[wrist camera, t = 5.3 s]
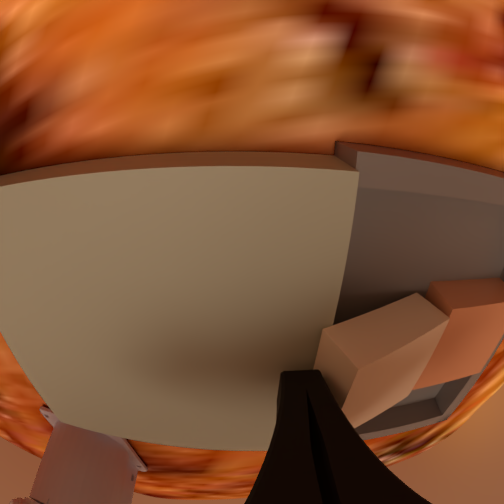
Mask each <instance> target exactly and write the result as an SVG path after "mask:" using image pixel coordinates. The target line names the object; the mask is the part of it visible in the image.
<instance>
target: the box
mask: <svg viewBox="0 0 504 504" xmlns="http://www.w3.org/2000/svg"><path fill="white" fill-rule="evenodd" d="M334 156H336V157H337V158H339V159H341V160H342V161H344V162H345V163H347V164H348V165H350V166H351V167H353V168H354V169H356V170H358V171H359V180H358V188H357V196H356V203H355V211H354V217H353V224H352V230H351V237H350V243H349V248H348V254H347V260H346V265H345V270H344V275H343V281H342V285H341V290H340V295H339V300H338V304H337V309H336V313H335V318H334V322H333V325H336V324H338V323H341V322H344V321H347V320H349V319H352V318H355V317H357V316H360V315H363V314H365V313H368V312H371V311H373V310H376V309H378V308H381V307H383V306H386V305H388V304H391V303H393V302H396V301H398V300H400V299H403V298H405V297H407V296H410V295H412V294H414V293H418V294H420V295H421V296H422V297H424V298H425V296H426V293H427V291H428V288H429V285H430V282H431V281H452V280H470V279H486V278H500V279H501V280H502V281H503V282H504V172H501V171H497V170H494V169H490V168H486V167H483V166H479V165H475V164H471V163H467V162H462V161H458V160H454V159H449V158H444V157H440V156H435V155H430V154H424V153H419V152H413V151H407V150H401V149H395V148H388V147H381V146H374V145H366V144H358V143H349V142H339V141H335V153H334ZM503 338H504V334H503V336H502V337H501V339H500V341H499V343H498V344H497V346H496V348H495V349H494V351H493V353H492V354H491V356H490V358H489V359H488V361H487V362H486V364H485V365H484V367H483V369H482V370H481V372H480V373H477V374H473V375H470V376H467V377H463V378H460V379H456V380H453V381H449V382H445V383H441V384H437V385H433V386H429V387H424V388H420V389H415V390H411V392H410V394H409V395H408V396H407V397H406V398H404V399H403V400H401V401H400V402H398V403H396V404H395V405H393V406H392V407H390V408H389V409H387V410H385V411H384V412H382V413H380V414H379V415H377V416H375V417H374V418H372V419H370V420H368V421H367V422H365V423H363V424H361V425H360V426H358V427H356V428H354V429H355V430H356V432H357V433H358V434H359V436H360V437H361V438H362V440H367V439H373V438H378V437H383V436H387V435H392V434H396V433H401V432H405V431H409V430H413V429H416V428H420V427H424V426H427V425H431V424H434V423H437V422H441V421H444V420H447V418H448V417H449V416H450V415H451V414H452V412H453V411H454V410H455V409H456V407H457V406H458V405H459V404H460V402H461V401H462V400H463V399H464V397H465V396H466V395H467V393H468V392H469V391H470V389H471V388H472V386H473V385H474V384H475V382H476V381H477V379H478V378H479V377H480V375H481V374H482V372H483V371H484V369H485V368H486V366H487V365H488V363H489V362H490V360H491V358H492V357H493V355H494V354H495V352H496V350H497V349H498V347H499V345H500V344H501V342H502V340H503Z"/></svg>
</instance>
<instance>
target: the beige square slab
mask: <svg viewBox="0 0 504 504" xmlns="http://www.w3.org/2000/svg"><path fill="white" fill-rule="evenodd" d="M358 180H359V171H358V170H356V169H354V168H353V167H351V166H350V165H348V164H347V163H345V162H344V161H342V160H341V159H339V158H337V157H336V156H334V155H321V154H306V153H286V152H248V151H220V152H183V153H163V154H148V155H135V156H124V157H113V158H104V159H96V160H87V161H80V162H73V163H66V164H59V165H53V166H47V167H41V168H36V169H30V170H25V171H20V172H15V173H10V174H6V175H1V176H0V332H1V333H2V335H3V337H4V339H5V341H6V343H7V344H8V346H9V348H10V350H11V351H12V353H13V355H14V356H15V358H16V360H17V361H18V363H19V365H20V366H21V368H22V369H23V371H24V372H25V374H26V375H27V377H28V378H29V380H30V381H31V383H32V384H33V386H34V387H35V389H36V390H37V392H38V393H39V394H40V396H41V397H42V398H43V400H44V401H45V402H46V404H47V405H48V406H49V408H50V409H51V410H52V412H53V413H54V414H55V415H56V417H57V418H58V419H59V420H60V422H63V423H66V424H69V425H73V426H76V427H80V428H83V429H87V430H91V431H95V432H99V433H103V434H107V435H111V436H116V437H121V438H126V439H131V440H136V441H142V442H148V443H154V444H161V445H168V446H176V447H186V448H196V449H210V450H231V451H268V448H269V445H270V442H271V439H272V435H273V432H274V428H275V425H276V413H277V394H278V387H279V380H280V373H281V372H283V371H294V370H313V368H314V364H315V360H316V356H317V352H318V347H319V343H320V339H321V334H322V330H323V329H324V328H327V327H330V326H333V322H334V318H335V313H336V309H337V304H338V300H339V295H340V290H341V285H342V281H343V275H344V270H345V265H346V260H347V254H348V248H349V243H350V237H351V230H352V224H353V217H354V211H355V203H356V196H357V188H358Z"/></svg>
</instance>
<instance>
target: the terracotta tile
mask: <svg viewBox="0 0 504 504" xmlns="http://www.w3.org/2000/svg"><path fill="white" fill-rule="evenodd" d="M425 299H426V300H427V301H429V302H430V303H431V304H433V305H434V306H435V307H437V308H438V309H439V310H440V311H442V312H443V313H444V314H445V315H447V316H448V317H449V318H450V320H449V322H448V324H447V326H446V328H445V330H444V332H443V334H442V336H441V338H440V340H439V342H438V344H437V346H436V348H435V350H434V352H433V354H432V356H431V358H430V360H429V361H428V363H427V365H426V367H425V369H424V370H423V372H422V374H421V376H420V377H419V379H418V381H417V382H416V384H415V386H414V387H413V389H412V390H415V389H420V388H424V387H429V386H433V385H437V384H441V383H445V382H449V381H453V380H456V379H460V378H463V377H467V376H470V375H473V374H477V373H480V372H481V370H482V369H483V367H484V365H485V364H486V362H487V361H488V359H489V358H490V356H491V354H492V353H493V351H494V349H495V348H496V346H497V344H498V343H499V341H500V339H501V337H502V336H503V334H504V282H503V281H502V280H501V279H500V278H486V279H470V280H452V281H431V282H430V285H429V288H428V291H427V293H426V296H425Z"/></svg>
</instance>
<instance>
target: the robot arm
mask: <svg viewBox="0 0 504 504" xmlns="http://www.w3.org/2000/svg"><path fill="white" fill-rule="evenodd" d="M39 410H40V412H41V413H42V414H43V416H44V417H45V418H46V419H47V420H48V421H49V423H50V424H51V425H52V426H53V427H54V429H53V431H52V434H51V436H50V439H49V442H48V444H47V447H46V449H45V452H44V455H43V457H42V461H41V463H40V466H39V469H38V472H37V475H36V478H35V481H34V484H33V487H32V490H31V493H30V498H31V499H29V498H26V497H25V499H22V498H17V499H12V500H11V501H10V503H9V504H131V503H132V498H133V492H134V487H135V482H136V477H137V472H138V470H139V471H144V472H146V471H147V467H146V466H145V464H144V463H143V462H142V461H141V459H140V458H139V457H138V455H137V454H136V453H135V451H134V450H133V448H132V447H131V446H130V444H129V443H128V442H127V440H126V439H125V438H121V437H116V436H111V435H107V434H103V433H99V432H95V431H91V430H87V429H83V428H80V427H76V426H73V425H69V424H66V423H63V422H60V420H59V419H58V418H57V417H56V415H55V414H54V413H53V412H52V410H51V409H49V408H46V407H43V406H41V407H40V409H39ZM32 499H33V500H32ZM34 500H35V501H34ZM244 504H431V503H430V502H429V501H427V500H426V499H424V498H423V497H421V496H420V495H418V494H417V493H416V492H414V491H413V490H412V489H411V488H409V487H408V486H407V485H405V483H403V482H402V481H401V480H400V479H399V478H398V477H397V476H395V475H394V474H393V473H392V472H391V471H390V470H389V469H388V468H387V467H386V466H385V465H384V464H383V463H382V462H381V461H380V460H379V459H378V458H377V456H376V455H375V454H374V453H373V452H372V451H371V450H370V448H369V447H368V446H367V445H366V444H365V442H364V441H363V440H362V438H361V437H360V436H359V434H358V433H357V432H356V430H355V429H354V428H353V426H352V425H351V423H350V422H349V420H348V419H347V417H346V416H345V414H344V413H343V411H342V410H341V408H340V406H339V405H338V403H337V402H336V400H335V398H334V396H333V395H332V393H331V391H330V389H329V387H328V386H327V384H326V382H325V380H324V378H323V376H322V374H321V372H320V371H319V370H318V369H315V370H294V371H283V372H281V373H280V380H279V387H278V394H277V413H276V425H275V428H274V432H273V435H272V439H271V442H270V445H269V448H268V451H267V454H266V457H265V460H264V462H263V465H262V467H261V470H260V472H259V474H258V477H257V479H256V481H255V483H254V486H253V488H252V490H251V492H250V494H249V496H248V498H247V500H246V502H245V503H244Z"/></svg>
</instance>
